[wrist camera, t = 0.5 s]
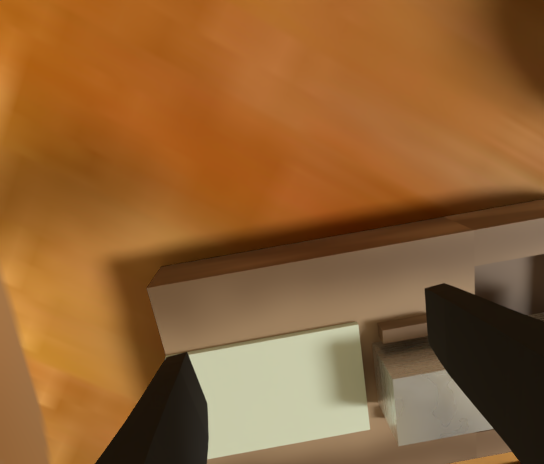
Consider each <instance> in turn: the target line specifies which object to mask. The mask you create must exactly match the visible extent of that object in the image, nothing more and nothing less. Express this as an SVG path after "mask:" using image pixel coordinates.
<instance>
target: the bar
mask: <svg viewBox="0 0 544 464" xmlns="http://www.w3.org/2000/svg"><path fill="white" fill-rule="evenodd" d="M528 316H530V317H533V318H536V319H539V320H541V321H544V312H543V313H537V314H532V315H528ZM372 349H373V358H374V368H375V378H376V388H377V398H378V404H379V406H380V408H381V410H382V412H383V414H384V417H385V419H386V421H387V423H388V425H389V427H390V429H391V431H392V433H393V436H394V438H395V440H396V442H397V444H398V446H403V445H408V444H414V443H419V442H425V441H430V440H435V439H441V438H446V437H452V436H457V435H463V434H468V433H474V432H479V431H485V430H490V429H493V427H492V426H491V425H490V424H489V423H488V421H487V420H486V419H485V418H484V417H483V415H482V414H481V413H480V412H479V411H478V409H477V408H476V407H475V406H474V405H473V403H472V402H471V401H470V400H469V399H468V397H467V396H466V395H465V394H464V393H463V391H462V390H461V389H460V388H459V387H458V385H457V384H456V383H455V382H454V380H453V379H452V378H451V377H450V375H449V374H448V373H447V372H446V370H445V368H444V367H443V365H442V364H441V362H440V361H439V359H438V358H437V356H436V355H435V353H434V351H433V350H432V348H431V347H430V345H429V343H428V336H425V337H420V338H414V339H409V340H403V341H398V342H392V343H387V344H383V342H376V343H372Z"/></svg>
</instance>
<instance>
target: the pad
mask: <svg viewBox="0 0 544 464" xmlns="http://www.w3.org/2000/svg"><path fill="white" fill-rule="evenodd" d="M187 353H188V355H189V358H190V360H191V363H192V365H193V368H194V371H195V373H196V376H197V378H198V381H199V383H200V386H201V388H202V391H203V393H204V396H205V399H206V401H207V406H208V432H209V442H208V456H207V459H212V458H218V457H223V456H229V455H234V454H240V453H245V452H251V451H256V450H262V449H267V448H273V447H278V446H284V445H289V444H294V443H300V442H305V441H311V440H316V439H322V438H327V437H333V436H338V435H344V434H349V433H355V432H360V431H366V430H370V424H369V415H368V406H367V397H366V388H365V379H364V370H363V361H362V352H361V344H360V335H359V326H358V323H357V322H352V323H346V324H340V325H335V326H329V327H324V328H318V329H313V330H307V331H301V332H296V333H290V334H285V335H279V336H274V337H268V338H262V339H257V340H251V341H246V342H240V343H235V344H229V345H223V346H218V347H212V348H207V349H201V350H196V351H190V352H187ZM179 354H180V353H179ZM173 355H177V354H173ZM173 355H168V356H166V357H169V356H173ZM166 357H165V359H166Z"/></svg>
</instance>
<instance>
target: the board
mask: <svg viewBox="0 0 544 464" xmlns="http://www.w3.org/2000/svg"><path fill="white" fill-rule="evenodd" d="M442 283H445V284H448V285H451V286H454V287H457V288H459V289H462V290H464V291H467V292H469V293H472V294H474V295H477V296H479V297H482V298H484V299H487V300H489V301H492V302H494V303H497V304H499V305H502V306H504V307H507V308H509V309H512V310H514V311H517V312H520V313H522V314H525V315H532V314H537V313H543V312H544V199H542V200H536V201H530V202H525V203H519V204H513V205H508V206H502V207H496V208H491V209H485V210H479V211H474V212H468V213H462V214H457V215H451V216H445V217H440V218H434V219H428V220H423V221H417V222H412V223H406V224H400V225H395V226H389V227H383V228H378V229H372V230H366V231H361V232H355V233H349V234H344V235H338V236H332V237H327V238H321V239H315V240H310V241H304V242H298V243H293V244H287V245H281V246H276V247H270V248H264V249H259V250H253V251H247V252H242V253H236V254H230V255H225V256H219V257H213V258H208V259H202V260H197V261H191V262H185V263H180V264H174V265H168V266H163V267H160V269H159V270H158V272H157V273H156V275H155V276H154V278H153V279H152V281H151V282H150V284H149V285H148V287H147V291H148V295H149V298H150V302H151V305H152V309H153V312H154V316H155V319H156V323H157V326H158V330H159V333H160V337H161V340H162V344H163V347H164V351H165V354H166V356H168V355H173V354H179V353H184V352H190V351H196V350H201V349H207V348H212V347H218V346H223V345H229V344H235V343H240V342H246V341H251V340H257V339H262V338H268V337H274V336H279V335H285V334H290V333H296V332H301V331H307V330H313V329H318V328H324V327H329V326H335V325H340V324H346V323H352V322H357V323H358V326H359V335H360V344H361V352H362V361H363V370H364V379H365V388H366V397H367V406H368V415H369V424H370V430H366V431H360V432H355V433H349V434H344V435H338V436H333V437H327V438H322V439H316V440H311V441H305V442H300V443H294V444H289V445H284V446H278V447H273V448H267V449H262V450H256V451H251V452H245V453H240V454H234V455H229V456H223V457H218V458H212V459H207V464H448V463H453V462H459V461H464V460H470V459H475V458H481V457H486V456H491V455H497V454H502V453H508V452H512V451H511V450H510V448H509V447H508V446H507V444H506V443H505V442H504V441H503V439H502V438H501V437H500V436H499V435H498V433H497V432H496V431H495V430H494V429H490V430H485V431H479V432H474V433H468V434H463V435H457V436H452V437H446V438H441V439H435V440H430V441H425V442H419V443H414V444H408V445H403V446H398V444H397V442H396V440H395V438H394V436H393V433H392V431H391V429H390V427H389V425H388V423H387V421H386V419H385V417H384V414H383V412H382V410H381V408H380V406H379V404H378V398H377V388H376V378H375V368H374V358H373V349H372V343H376V342H383V344H387V343H392V342H398V341H403V340H409V339H414V338H420V337H425V336H428V333H427V318H426V304H425V289H424V288H427V287H431V286H435V285H439V284H442Z"/></svg>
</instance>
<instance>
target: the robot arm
mask: <svg viewBox="0 0 544 464" xmlns="http://www.w3.org/2000/svg"><path fill="white" fill-rule="evenodd" d="M424 289H425V304H426V318H427V333H428V343H429V345H430V347H431V348H432V350H433V351H434V353H435V355H436V356H437V358H438V359H439V361H440V362H441V364H442V365H443V367H444V368H445V370H446V372H447V373H448V374H449V375H450V377H451V378H452V379H453V380H454V382H455V383H456V384H457V385H458V387H459V388H460V389H461V390H462V391H463V393H464V394H465V395H466V396H467V397H468V399H469V400H470V401H471V402H472V403H473V405H474V406H475V407H476V408H477V409H478V411H479V412H480V413H481V414H482V415H483V417H484V418H485V419H486V420H487V421H488V423H489V424H490V425H491V426H492V427H493V429H494V430H495V431H496V432H497V433H498V435H499V436H500V437H501V438H502V439H503V441H504V442H505V443H506V444H507V446H508V447H509V448H510V450H511V451H512V452H513V453H514V455H515V456H516V457H517V459H518V460H519V461H520V463H521V464H544V321H541V320H539V319H536V318H533V317H530V316H528V315H525V314H522V313H520V312H517V311H514V310H512V309H509V308H507V307H504V306H502V305H499V304H497V303H494V302H492V301H489V300H487V299H484V298H482V297H479V296H477V295H474V294H472V293H469V292H467V291H464V290H462V289H459V288H457V287H454V286H451V285H448V284H445V283H442V284H439V285H435V286H431V287H427V288H424ZM208 442H209V432H208V406H207V401H206V399H205V396H204V393H203V391H202V388H201V386H200V383H199V381H198V378H197V376H196V373H195V371H194V368H193V365H192V363H191V360H190V358H189V355H188V353H187V352H184V353H180V354H177V355H173V356H169V357H166V359H165V360H164V362H163V363H162V365H161V367H160V368H159V370H158V371H157V373H156V374H155V376H154V378H153V379H152V381H151V382H150V384H149V386H148V387H147V389H146V390H145V392H144V394H143V395H142V397H141V398H140V400H139V401H138V403H137V404H136V406H135V408H134V409H133V411H132V412H131V414H130V415H129V417H128V418H127V420H126V421H125V423H124V424H123V426H122V427H121V428H120V430H119V431H118V433H117V434H116V435H115V437H114V438H113V440H112V441H111V442H110V444H109V445H108V447H107V448H106V449H105V451H104V452H103V454H102V455H101V456H100V458H99V459H98V460H97V462H96V463H95V464H207V456H208Z"/></svg>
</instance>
